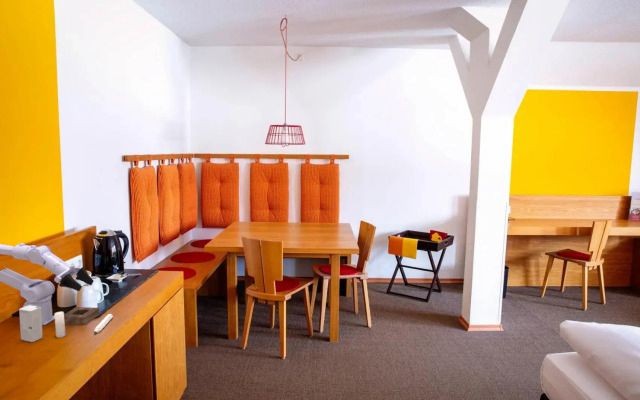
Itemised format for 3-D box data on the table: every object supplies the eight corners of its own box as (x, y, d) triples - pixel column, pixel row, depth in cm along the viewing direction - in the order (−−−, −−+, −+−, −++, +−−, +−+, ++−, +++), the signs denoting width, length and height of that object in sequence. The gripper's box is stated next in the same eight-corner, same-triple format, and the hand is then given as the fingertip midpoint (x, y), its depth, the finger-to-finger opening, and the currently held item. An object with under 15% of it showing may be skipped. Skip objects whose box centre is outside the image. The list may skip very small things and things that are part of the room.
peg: (54, 337, 161) (52, 314, 160) (59, 333, 164) (57, 311, 163) (62, 337, 161) (60, 314, 160) (67, 334, 164) (65, 311, 163)
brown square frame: (61, 323, 173) (61, 316, 172) (76, 313, 183) (76, 307, 182) (85, 324, 172) (85, 317, 172) (99, 314, 182) (99, 307, 182)
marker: (93, 338, 163) (109, 320, 179) (98, 335, 163) (114, 317, 179) (89, 332, 162) (105, 315, 178) (94, 329, 162) (110, 312, 178)
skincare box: (20, 340, 159) (17, 309, 157) (31, 334, 163) (28, 304, 161) (33, 342, 157) (29, 311, 155) (44, 337, 161) (41, 306, 160)
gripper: (50, 263, 163) (79, 283, 163) (74, 254, 178) (101, 272, 178) (41, 278, 164) (70, 298, 164) (66, 268, 179) (93, 286, 179)
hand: (86, 285), depth 171 cm, fingers open, 7 cm apart
